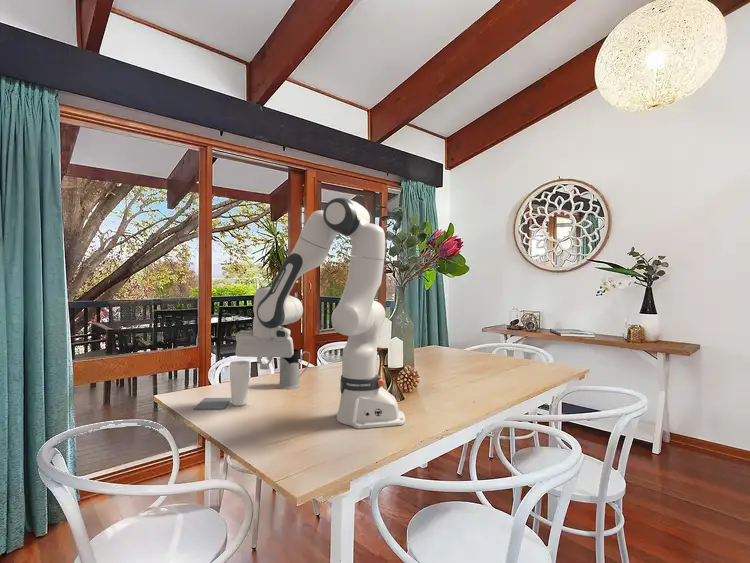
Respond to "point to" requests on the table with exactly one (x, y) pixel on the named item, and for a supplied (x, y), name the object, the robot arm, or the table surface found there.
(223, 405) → the mat
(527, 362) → the table surface
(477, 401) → the table surface
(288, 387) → the grey mug
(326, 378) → the table surface
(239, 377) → the drinking glass
